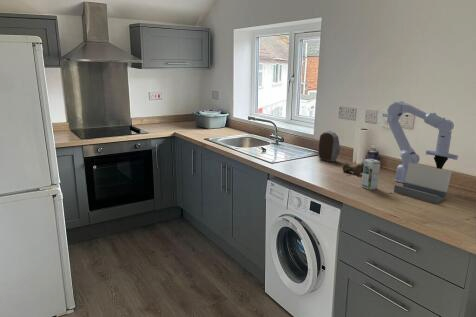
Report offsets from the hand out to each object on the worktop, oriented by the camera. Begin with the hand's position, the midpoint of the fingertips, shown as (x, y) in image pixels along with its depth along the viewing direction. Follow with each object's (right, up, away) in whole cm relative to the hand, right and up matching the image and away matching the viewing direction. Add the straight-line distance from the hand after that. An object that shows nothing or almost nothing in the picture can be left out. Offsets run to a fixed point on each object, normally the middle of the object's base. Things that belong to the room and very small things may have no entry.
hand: (438, 170), depth 183 cm
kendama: (-33, -2, +30) cm, 44 cm away
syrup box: (-35, -9, +1) cm, 36 cm away
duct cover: (-10, -3, -8) cm, 13 cm away
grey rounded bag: (-42, +5, +57) cm, 71 cm away
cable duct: (-15, -12, -10) cm, 21 cm away
